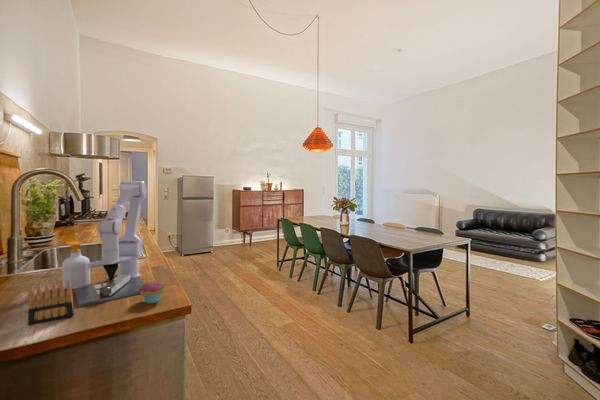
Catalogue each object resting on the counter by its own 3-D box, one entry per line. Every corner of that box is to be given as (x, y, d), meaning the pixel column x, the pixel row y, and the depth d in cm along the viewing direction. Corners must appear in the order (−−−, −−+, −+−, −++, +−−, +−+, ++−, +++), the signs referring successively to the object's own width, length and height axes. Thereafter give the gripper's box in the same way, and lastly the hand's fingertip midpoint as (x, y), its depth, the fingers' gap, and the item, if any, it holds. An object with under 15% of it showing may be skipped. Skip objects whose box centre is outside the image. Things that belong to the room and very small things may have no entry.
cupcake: (136, 306, 100) (135, 273, 99) (142, 297, 108) (142, 266, 107) (163, 304, 102) (162, 271, 101) (167, 295, 110) (167, 264, 109)
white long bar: (120, 280, 120) (119, 273, 120) (130, 280, 121) (130, 273, 121) (96, 297, 103) (96, 289, 102) (109, 297, 103) (108, 289, 103)
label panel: (74, 291, 112) (74, 287, 112) (137, 279, 126) (137, 276, 126) (78, 307, 98) (78, 302, 98) (148, 291, 113) (148, 288, 113)
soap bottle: (75, 290, 112) (73, 229, 111) (56, 288, 114) (54, 228, 113) (95, 282, 121) (94, 225, 120) (78, 281, 123) (76, 224, 121)
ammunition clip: (73, 314, 93) (72, 278, 92) (73, 317, 91) (72, 280, 91) (29, 323, 87) (27, 285, 86) (27, 326, 85) (26, 287, 85)
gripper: (89, 254, 107) (90, 289, 108) (133, 248, 116) (133, 281, 117) (87, 250, 112) (88, 284, 113) (129, 245, 122) (130, 276, 122)
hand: (111, 282), depth 115 cm, fingers closed
